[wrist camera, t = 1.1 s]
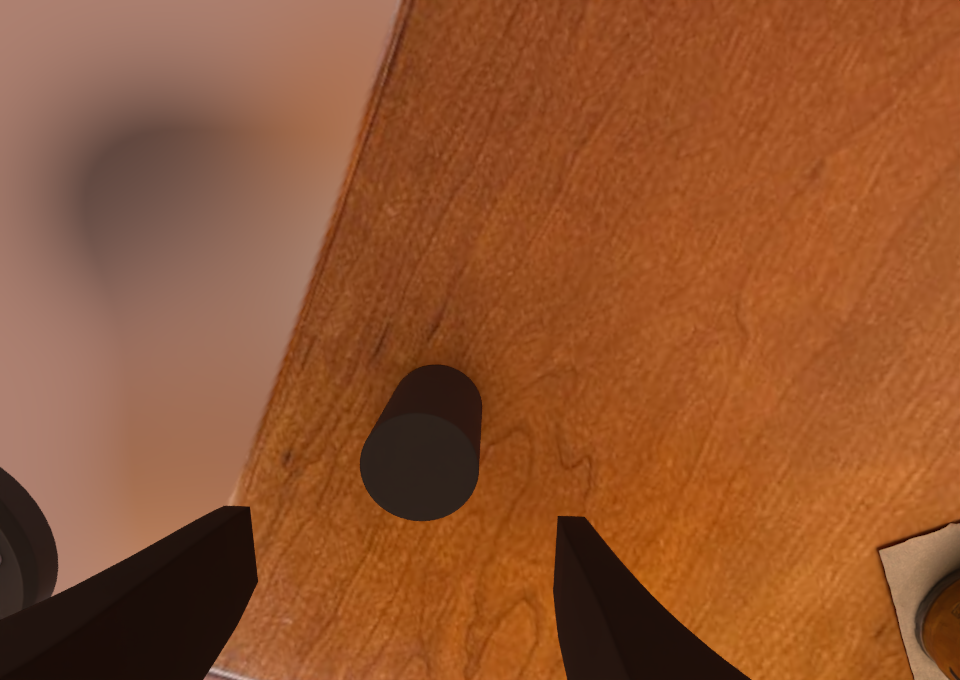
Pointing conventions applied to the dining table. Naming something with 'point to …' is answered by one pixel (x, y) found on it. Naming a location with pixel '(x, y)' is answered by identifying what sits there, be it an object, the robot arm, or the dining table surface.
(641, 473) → the dining table surface
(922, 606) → the condiment
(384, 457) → the stopper
